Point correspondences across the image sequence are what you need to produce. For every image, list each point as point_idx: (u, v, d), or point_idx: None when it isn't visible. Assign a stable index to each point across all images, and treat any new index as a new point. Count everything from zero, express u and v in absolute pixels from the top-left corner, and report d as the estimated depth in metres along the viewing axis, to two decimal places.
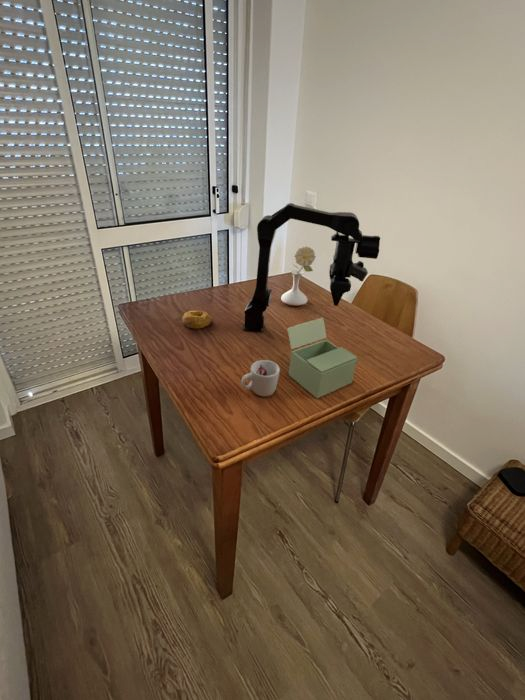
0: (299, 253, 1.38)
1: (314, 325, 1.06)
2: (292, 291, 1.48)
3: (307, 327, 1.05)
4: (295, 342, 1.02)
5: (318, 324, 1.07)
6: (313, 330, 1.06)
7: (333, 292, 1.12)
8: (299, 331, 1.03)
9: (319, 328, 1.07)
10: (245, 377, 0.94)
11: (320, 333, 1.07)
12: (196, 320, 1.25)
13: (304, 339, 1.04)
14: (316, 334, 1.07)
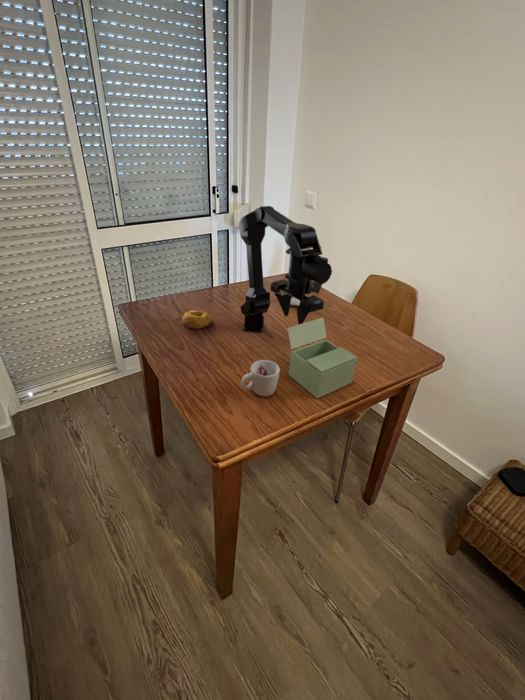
0: None
1: (314, 325, 1.06)
2: None
3: (307, 327, 1.04)
4: (295, 342, 1.02)
5: (318, 324, 1.07)
6: (313, 330, 1.06)
7: (301, 312, 1.02)
8: (299, 331, 1.03)
9: (319, 328, 1.07)
10: (245, 377, 0.94)
11: (320, 333, 1.07)
12: (196, 320, 1.25)
13: (304, 339, 1.04)
14: (316, 334, 1.07)
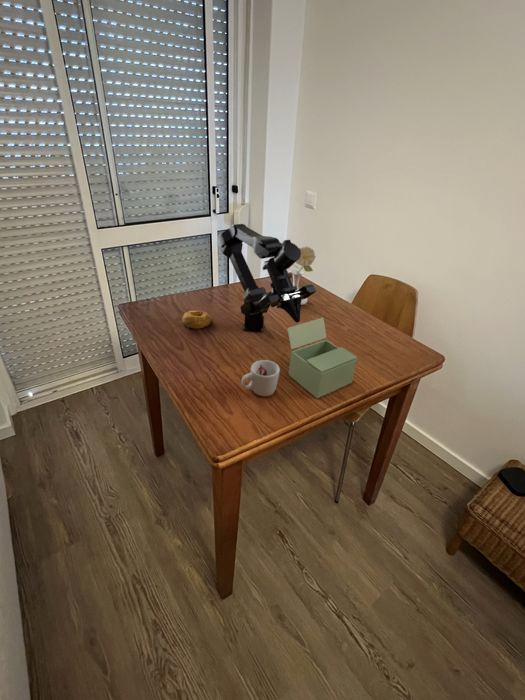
0: None
1: (314, 325, 1.06)
2: None
3: (307, 327, 1.04)
4: (295, 342, 1.02)
5: (318, 324, 1.07)
6: (313, 330, 1.06)
7: None
8: (299, 331, 1.03)
9: (319, 328, 1.07)
10: (245, 377, 0.94)
11: (320, 333, 1.07)
12: (196, 320, 1.25)
13: (304, 339, 1.04)
14: (316, 334, 1.07)
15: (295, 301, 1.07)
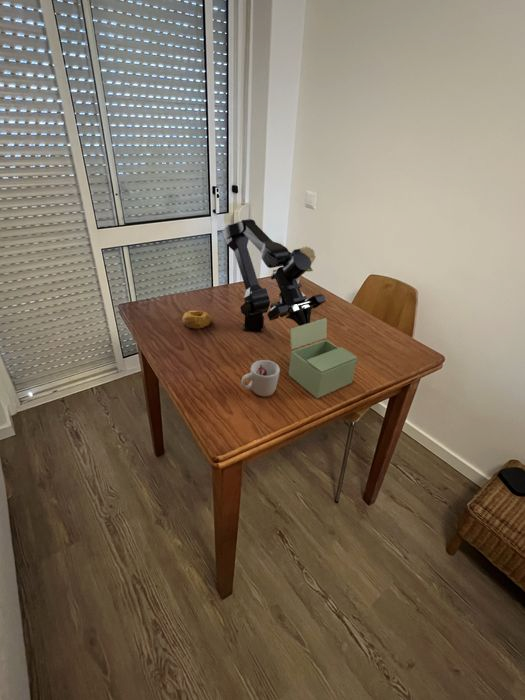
0: None
1: (317, 326, 1.05)
2: None
3: (310, 328, 1.04)
4: (296, 342, 1.02)
5: (321, 325, 1.06)
6: (315, 330, 1.05)
7: None
8: (301, 331, 1.02)
9: (321, 328, 1.06)
10: (245, 377, 0.94)
11: (321, 333, 1.07)
12: (196, 320, 1.25)
13: (305, 339, 1.04)
14: (317, 334, 1.06)
15: (305, 311, 1.04)
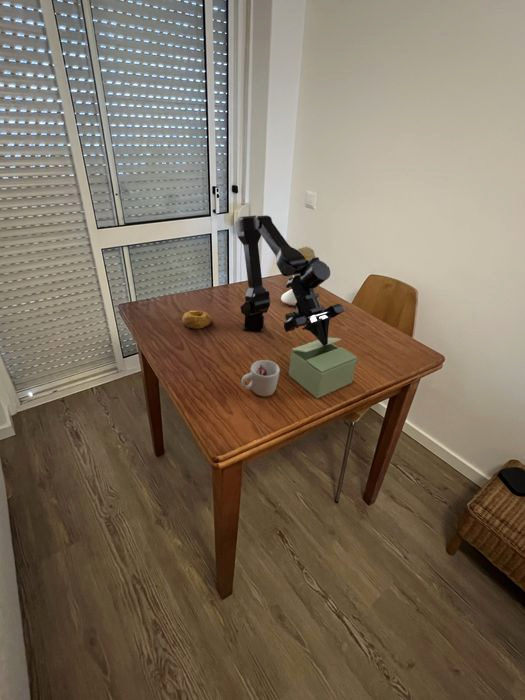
0: None
1: None
2: (292, 291, 1.48)
3: None
4: None
5: None
6: None
7: None
8: None
9: None
10: (245, 377, 0.94)
11: None
12: (196, 320, 1.25)
13: None
14: None
15: (322, 322, 0.99)
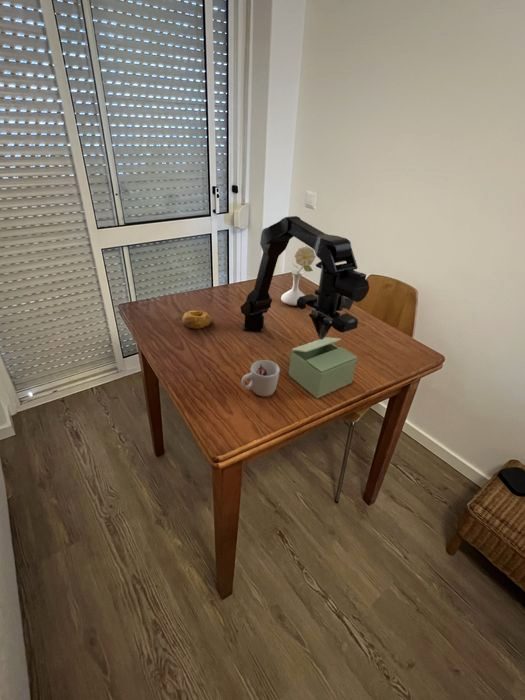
0: (299, 253, 1.38)
1: None
2: (292, 291, 1.48)
3: None
4: None
5: None
6: None
7: (324, 326, 0.95)
8: None
9: None
10: (245, 377, 0.94)
11: None
12: (196, 320, 1.25)
13: None
14: None
15: None
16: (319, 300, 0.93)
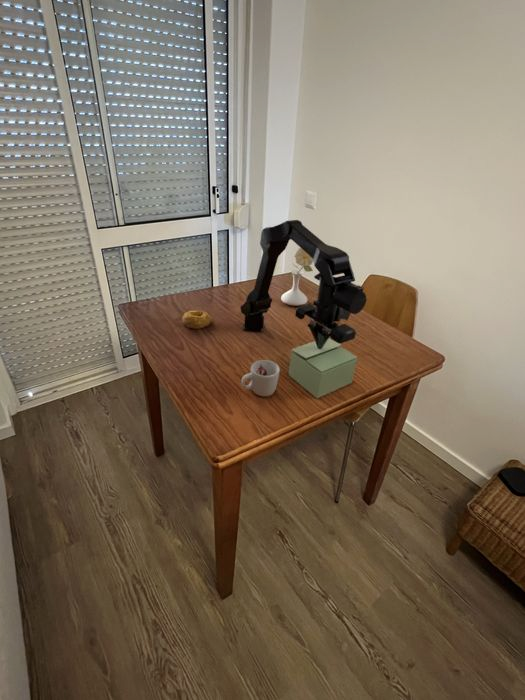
0: (299, 253, 1.38)
1: None
2: (292, 291, 1.48)
3: None
4: None
5: None
6: None
7: (322, 337, 0.97)
8: None
9: None
10: (245, 377, 0.94)
11: None
12: (196, 320, 1.25)
13: None
14: None
15: None
16: (317, 311, 0.94)
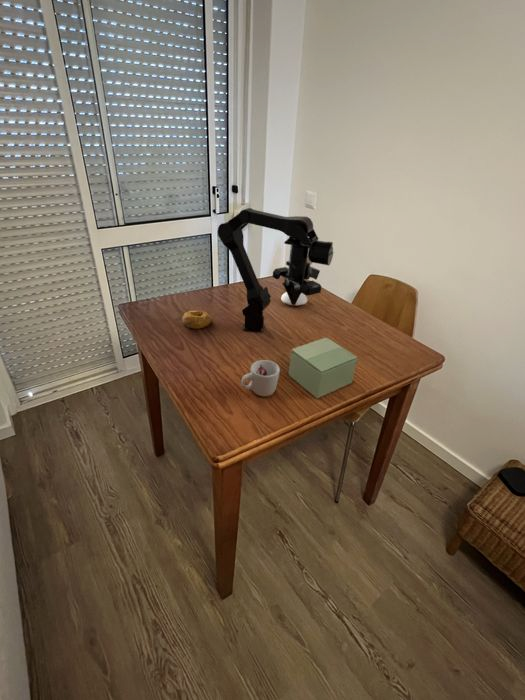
0: None
1: None
2: None
3: None
4: None
5: None
6: None
7: (294, 292, 1.14)
8: None
9: None
10: (245, 377, 0.94)
11: None
12: (196, 320, 1.25)
13: None
14: None
15: None
16: (289, 270, 1.12)
